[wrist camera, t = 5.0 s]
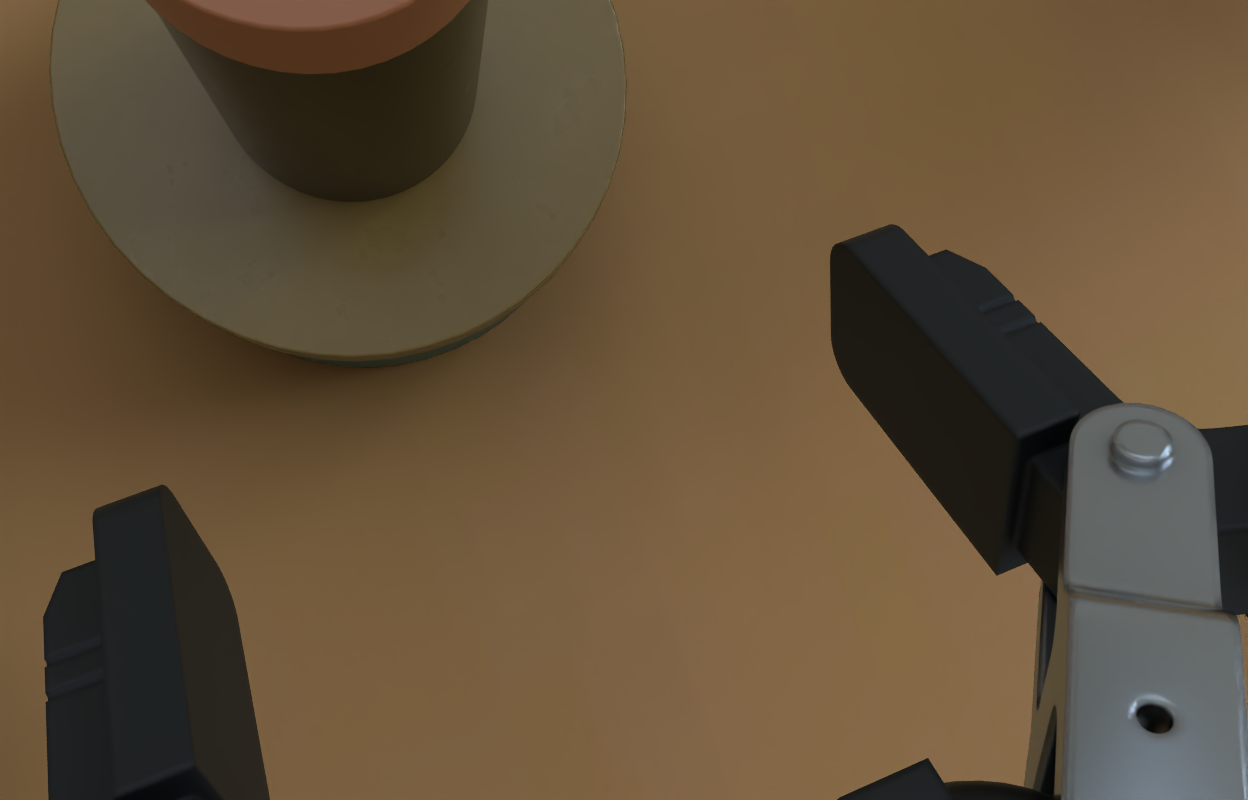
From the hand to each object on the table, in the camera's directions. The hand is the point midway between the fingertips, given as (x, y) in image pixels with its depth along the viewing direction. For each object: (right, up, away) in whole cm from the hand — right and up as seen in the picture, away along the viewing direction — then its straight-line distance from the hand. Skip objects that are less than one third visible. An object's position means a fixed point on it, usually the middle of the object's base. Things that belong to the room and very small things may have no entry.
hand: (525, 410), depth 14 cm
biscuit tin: (-6, +7, +18) cm, 20 cm away
